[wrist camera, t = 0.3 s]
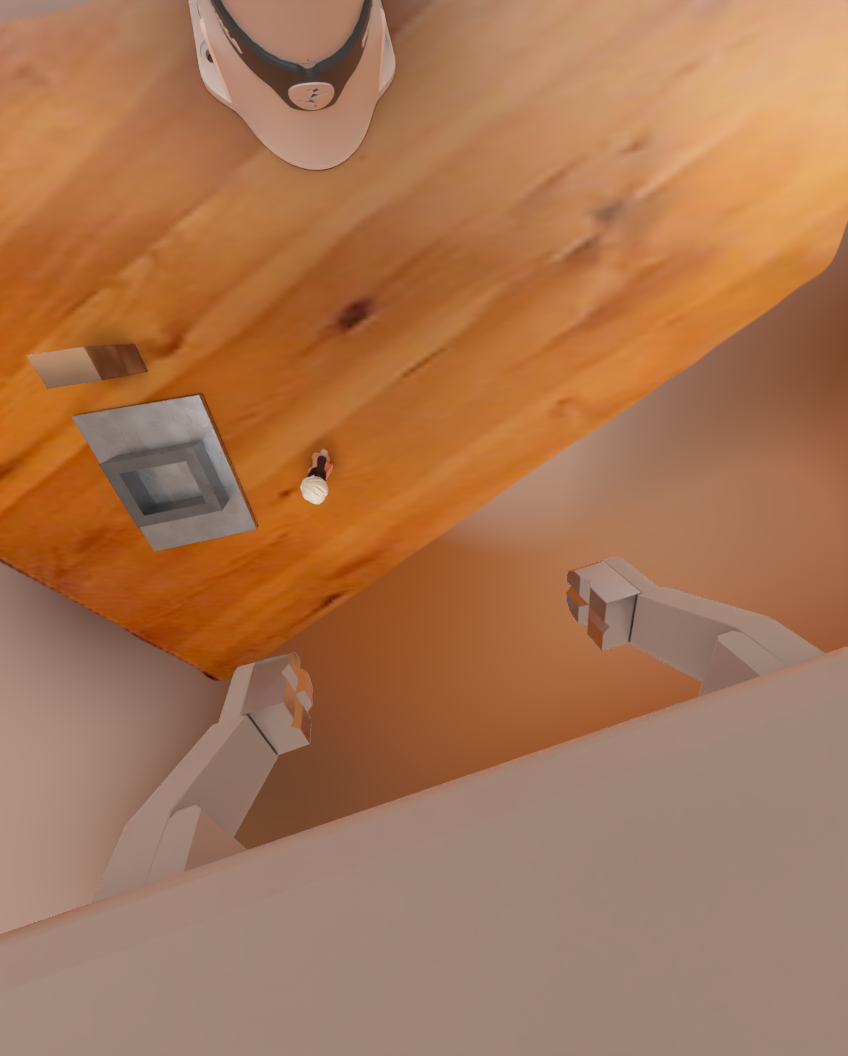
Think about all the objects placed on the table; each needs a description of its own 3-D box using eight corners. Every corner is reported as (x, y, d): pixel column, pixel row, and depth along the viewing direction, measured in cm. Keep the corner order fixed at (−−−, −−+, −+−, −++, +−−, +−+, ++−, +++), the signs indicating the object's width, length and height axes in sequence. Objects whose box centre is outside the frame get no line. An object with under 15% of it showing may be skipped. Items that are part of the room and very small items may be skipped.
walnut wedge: (89, 351, 42) (26, 355, 34) (134, 344, 43) (83, 346, 34) (104, 378, 44) (47, 388, 35) (147, 371, 44) (101, 380, 36)
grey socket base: (77, 414, 45) (51, 422, 41) (202, 393, 47) (189, 399, 43) (157, 547, 55) (143, 564, 51) (258, 525, 57) (251, 540, 53)
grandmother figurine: (330, 488, 56) (328, 525, 45) (304, 484, 55) (296, 521, 44) (336, 440, 53) (336, 467, 42) (309, 435, 52) (301, 462, 41)
